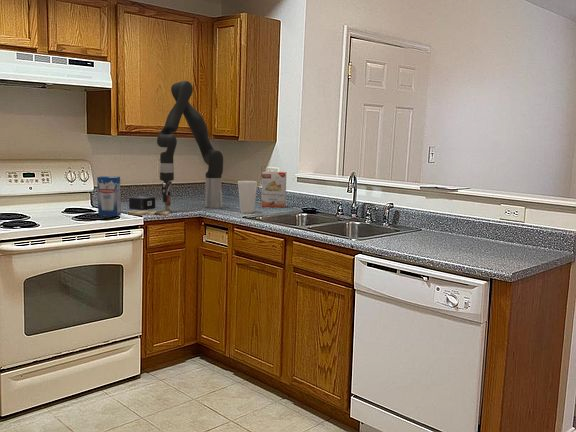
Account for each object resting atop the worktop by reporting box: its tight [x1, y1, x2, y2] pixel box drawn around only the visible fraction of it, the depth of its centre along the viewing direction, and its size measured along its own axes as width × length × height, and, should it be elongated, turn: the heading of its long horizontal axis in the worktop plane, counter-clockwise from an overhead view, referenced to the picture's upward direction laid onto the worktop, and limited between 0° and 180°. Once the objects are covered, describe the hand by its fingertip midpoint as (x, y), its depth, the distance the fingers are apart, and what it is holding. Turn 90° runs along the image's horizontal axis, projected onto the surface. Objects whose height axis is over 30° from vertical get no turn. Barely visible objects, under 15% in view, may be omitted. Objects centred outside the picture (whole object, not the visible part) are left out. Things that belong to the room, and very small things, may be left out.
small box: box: [128, 195, 156, 211], centre depth 343 cm, size 11×6×10 cm
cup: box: [237, 180, 258, 214], centre depth 334 cm, size 11×10×17 cm
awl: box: [164, 195, 171, 212], centre depth 329 cm, size 3×3×9 cm
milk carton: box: [96, 175, 122, 217], centre depth 312 cm, size 10×6×20 cm, turn 89°
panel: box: [128, 210, 171, 216], centre depth 322 cm, size 20×9×1 cm, turn 90°
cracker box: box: [261, 170, 287, 208], centre depth 359 cm, size 14×6×21 cm, turn 83°
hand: (166, 201), depth 329 cm, fingers open, 8 cm apart
